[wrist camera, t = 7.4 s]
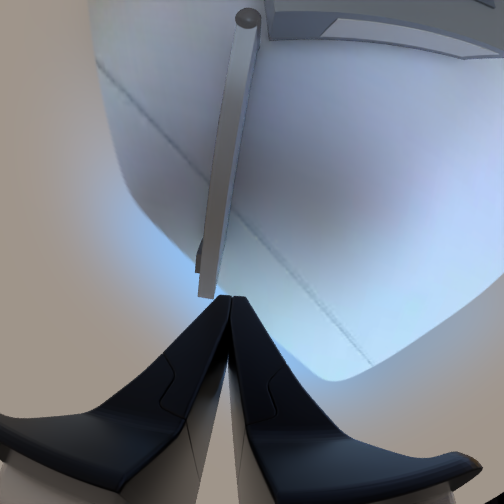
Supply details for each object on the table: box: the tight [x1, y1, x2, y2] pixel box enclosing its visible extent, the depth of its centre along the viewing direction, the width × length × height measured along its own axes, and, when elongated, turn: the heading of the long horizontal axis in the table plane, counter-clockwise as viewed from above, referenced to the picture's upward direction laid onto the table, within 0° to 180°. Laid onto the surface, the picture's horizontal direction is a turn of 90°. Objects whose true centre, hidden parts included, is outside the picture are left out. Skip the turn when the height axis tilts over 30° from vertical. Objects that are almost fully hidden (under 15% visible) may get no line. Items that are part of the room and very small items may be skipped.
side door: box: [195, 8, 261, 299], centre depth 14 cm, size 14×1×6 cm, turn 170°
